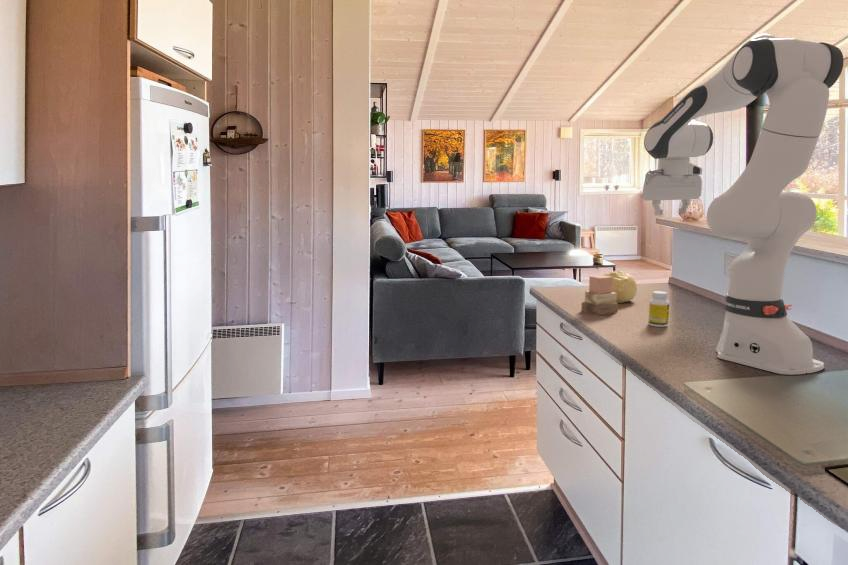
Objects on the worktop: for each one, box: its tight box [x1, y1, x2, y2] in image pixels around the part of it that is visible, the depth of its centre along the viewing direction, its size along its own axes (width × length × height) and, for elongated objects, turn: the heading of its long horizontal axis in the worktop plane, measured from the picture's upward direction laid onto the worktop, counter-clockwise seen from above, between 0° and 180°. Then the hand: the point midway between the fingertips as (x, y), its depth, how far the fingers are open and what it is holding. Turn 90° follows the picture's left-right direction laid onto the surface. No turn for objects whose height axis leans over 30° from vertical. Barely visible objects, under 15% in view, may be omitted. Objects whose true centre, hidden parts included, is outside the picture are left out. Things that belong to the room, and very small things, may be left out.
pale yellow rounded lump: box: [603, 270, 638, 304], centre depth 200 cm, size 12×12×11 cm
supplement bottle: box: [647, 290, 670, 328], centre depth 166 cm, size 5×5×10 cm
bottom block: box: [580, 301, 619, 316], centre depth 185 cm, size 8×8×4 cm
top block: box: [584, 290, 617, 306], centre depth 184 cm, size 7×7×4 cm
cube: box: [588, 274, 612, 294], centre depth 184 cm, size 5×5×5 cm
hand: (670, 214), depth 177 cm, fingers open, 8 cm apart
